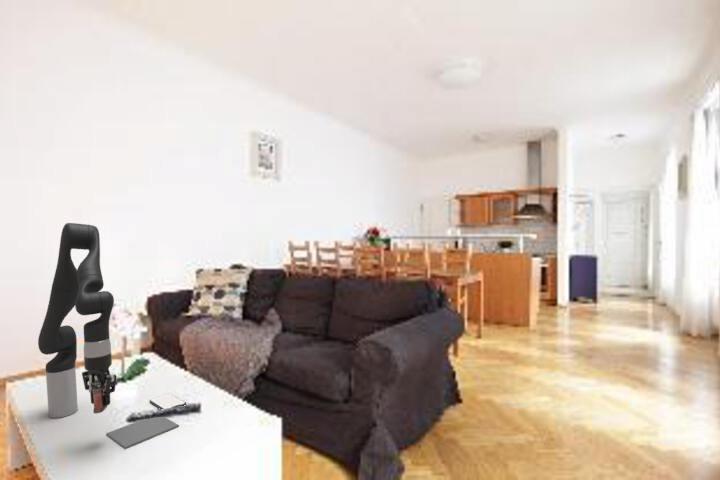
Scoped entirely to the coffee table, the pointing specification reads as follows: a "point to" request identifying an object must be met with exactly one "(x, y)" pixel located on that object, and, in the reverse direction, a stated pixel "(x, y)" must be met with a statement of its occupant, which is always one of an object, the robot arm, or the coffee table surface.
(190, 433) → the coffee table surface
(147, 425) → the rubber mat
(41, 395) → the coffee table surface
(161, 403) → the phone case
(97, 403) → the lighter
